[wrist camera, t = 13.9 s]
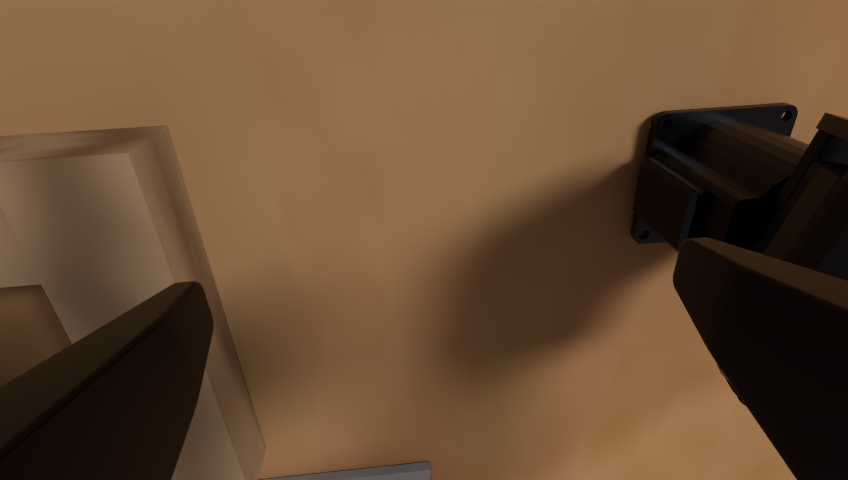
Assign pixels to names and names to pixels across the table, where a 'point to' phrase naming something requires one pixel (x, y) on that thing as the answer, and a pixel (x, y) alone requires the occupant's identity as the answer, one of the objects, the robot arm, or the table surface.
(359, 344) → the table surface
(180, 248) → the pocket block
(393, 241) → the table surface
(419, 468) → the mat
